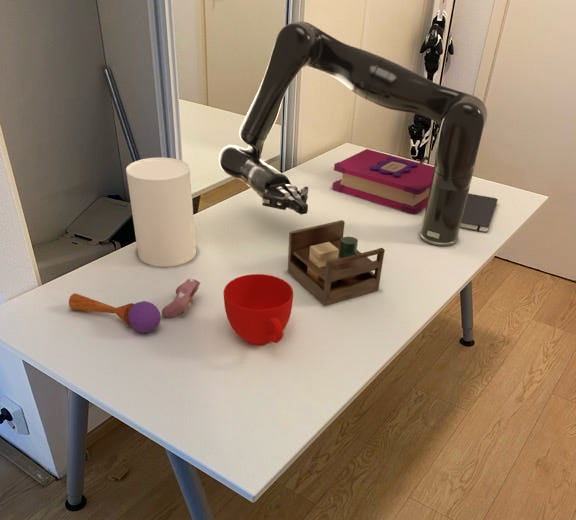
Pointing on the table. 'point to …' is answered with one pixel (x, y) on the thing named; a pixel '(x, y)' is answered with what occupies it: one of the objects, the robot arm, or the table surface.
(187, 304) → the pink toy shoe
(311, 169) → the table surface
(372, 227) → the table surface
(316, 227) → the rack
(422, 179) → the book
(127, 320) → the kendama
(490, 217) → the notebook
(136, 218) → the canister
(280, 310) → the ceramic cup
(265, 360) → the table surface
